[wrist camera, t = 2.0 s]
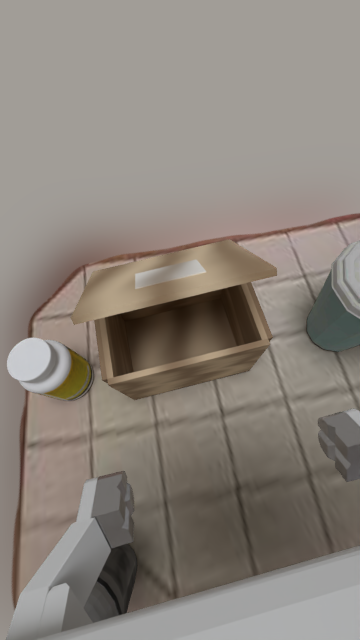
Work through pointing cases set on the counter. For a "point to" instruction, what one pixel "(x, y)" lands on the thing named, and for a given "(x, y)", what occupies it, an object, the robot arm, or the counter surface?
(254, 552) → the counter surface
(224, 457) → the counter surface
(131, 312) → the cardboard carton
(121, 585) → the beverage cup
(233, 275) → the lid flap
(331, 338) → the disposable coffee cup
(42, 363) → the pill bottle
